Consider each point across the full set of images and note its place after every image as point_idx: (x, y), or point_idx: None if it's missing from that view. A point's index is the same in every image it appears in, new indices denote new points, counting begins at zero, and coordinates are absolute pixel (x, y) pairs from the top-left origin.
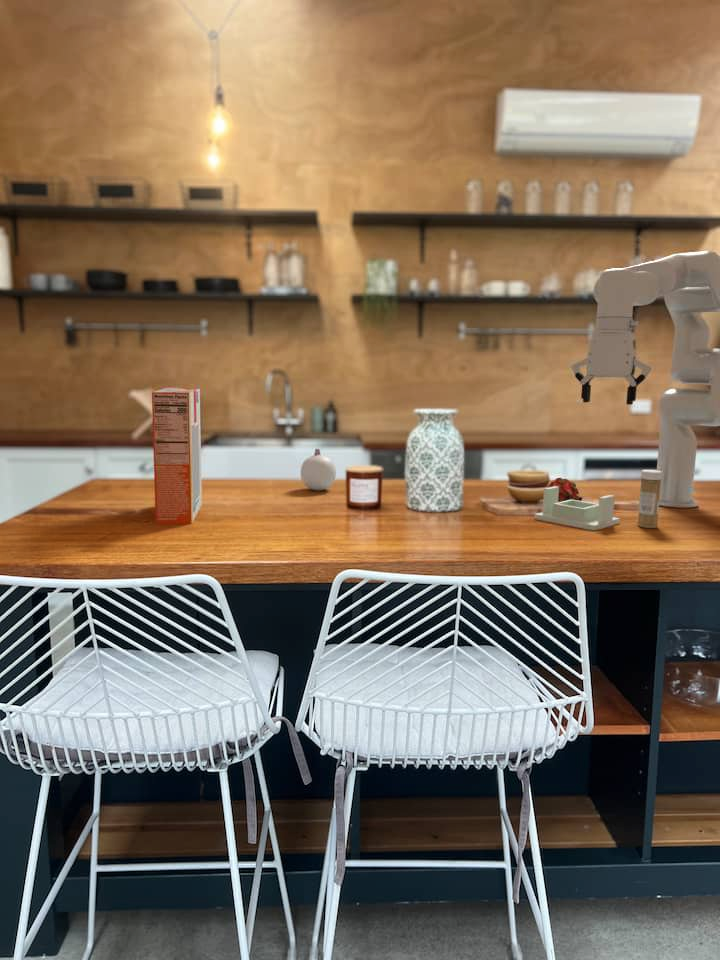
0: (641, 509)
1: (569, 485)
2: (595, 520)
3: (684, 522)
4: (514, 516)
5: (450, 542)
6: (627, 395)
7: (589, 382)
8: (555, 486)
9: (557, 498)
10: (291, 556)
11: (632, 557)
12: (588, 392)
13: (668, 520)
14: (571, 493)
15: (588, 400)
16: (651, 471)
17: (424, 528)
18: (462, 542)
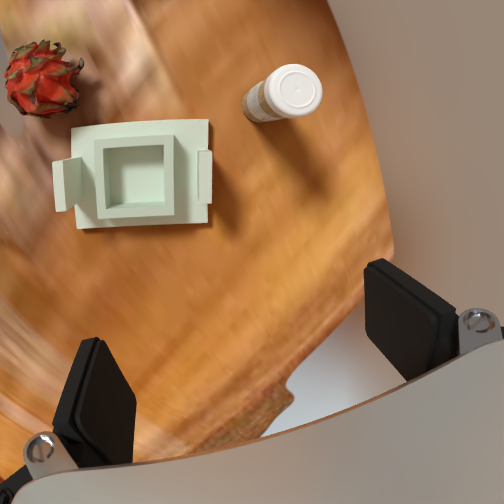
0: (260, 118)
1: (48, 76)
2: (184, 179)
3: (293, 22)
4: (48, 238)
5: None
6: (392, 360)
7: (82, 459)
8: (54, 162)
9: (72, 162)
10: None
11: (320, 318)
12: (114, 417)
13: (265, 24)
14: (70, 98)
15: (115, 368)
16: (303, 106)
17: (59, 395)
18: (137, 411)
